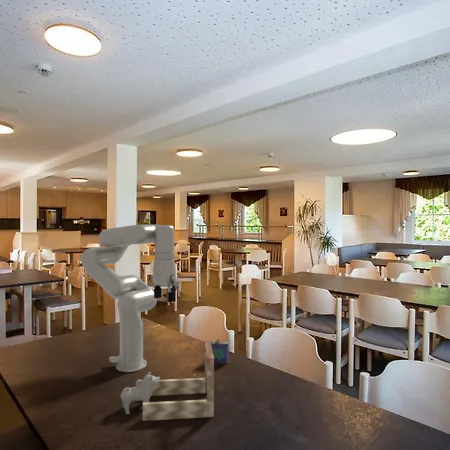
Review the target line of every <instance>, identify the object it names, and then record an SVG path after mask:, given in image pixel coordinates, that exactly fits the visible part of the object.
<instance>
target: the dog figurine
mask: <svg viewBox="0 0 450 450" xmlns="http://www.w3.org/2000/svg"><path fill="white" fill-rule="evenodd" d="M160 380H161V378H160V376H154V375H152V372H151V371H149V372H147V374H146V375H145V376H144V377H143V379H137V380H136V381H135V385H136V386H133V387H129V386H127V387H125V388H123V389H122V391H121V393H120V399H121V402H122V407H123V409H124V410H125V415H129V414H131V412H130V404H131V403H133V402H136V401H137V402H138V401H141V402H142V404H143V403H146V402H150V398H151V397H153V396H152V393H153V387H154V386H157V385H158V384H159V382H160Z"/></svg>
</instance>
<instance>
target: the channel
mask: <svg viewBox="0 0 450 450" xmlns="http://www.w3.org/2000/svg"><path fill="white" fill-rule="evenodd" d="M214 386H215V364H214V356H213V351H212V346H211V340H208V339H207V340H204V377H195V378H193V377H192V378H191V377H190V378H172V379H171V378H169V379H160V382H159V384H158V385H157V386H154V387H153V393H152V396H151V397H153V396H155V397H156V396H158V397H159V396H171V395H172V396H173V395H175V396H176V395H177V396H178V395H195V394H196V393H197V394H196V395H198V393H200V394H206V399H191V400H190V399H189V400H188V399H187V400H173V401H172V400H171V401H169V400H168V401H167V400H166V401H149V402H146V403H143V402H142V421H144V422H145V421H161V420H162V421H163V420H179V419H181V420H182V419H197V418H213V417H215V415H214V412H215V410H214V409H215V408H214V406H215V405H214V404H215V403H214V402H215V401H214V400H215V399H214V398H215V397H214V396H215V395H214V394H215V393H214V392H215V390H214V389H215V388H214Z"/></svg>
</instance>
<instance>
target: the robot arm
mask: <svg viewBox="0 0 450 450" xmlns="http://www.w3.org/2000/svg"><path fill="white" fill-rule="evenodd" d="M98 242H99V243H100V244H101V245H102V246H95V247H91V248H90V247H89V248H87V249H86V250H84V251H83V252H82V255H81V264H82V267H83V269H84V271H85V273H86V274H87V275H88V276H89V277H90V278H91V279H93V280H94V281H95V282H96V283H97V284H98V285H99V286H100V287H101V288H102V289H103V290H104V292H106V293H107V294H108V296H109V297H111V298H112V299H115V300H117V305H116V306H117V310H118V316H119V318H118V319H119V355H117V356H109V357H108V358H109V359H108V360H109V362H110V363H111V364H115V369H116V370H117V371H119V372H122V373H123V372H124V373H133V372H139V371H141V370H143V369H145V368H146V366H147V363H148V362H147V360H146V359H144V322H143V320H142V318H141V316H140V313H143V312H148V311H149V310H152V309H153V308H155V307H156V305H157V301H158V299H160V298H162V295H163V294H162V293H163V290H162V287H163V288H167V290H168V291H167V303H169V304H170V303H175V302H176V294H177V293H176V292H177V289H178V288H179V283H180V281H179V280H178V279H177V278H176V276H177V275H176V274H177V273H176V265H175V264H176V262H175V227H174V226H173V225H171V224H169V225H168V224H167V225H166V224H164V225H163V224H162V225H161V224H132V225H125V226H118V227H111V228H110V227H109V228H106V229H103V230H102V231H101V232H100V233H99V235H98ZM140 244H141V245H143V244H154V260H153V261H154V262H153V268H152V275H151V280H152V281H151V282H152V284H153V286H152V287H153V289H152V288H151V287H150V286H149V285H148V284H147V283H146V282H144V280H143V279H141V277H139V276H137V275H134V274H126V275H119V274H118V273H116V272H115V270H114V269H113V268H111V267H109V266H106V265H113V264H116V263H118V262H119V261H121V258H122V257H123V255H124V254H125V252H126V250H128V248H129V246H131V245H140Z"/></svg>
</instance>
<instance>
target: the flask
mask: <svg viewBox="0 0 450 450" xmlns="http://www.w3.org/2000/svg"><path fill="white" fill-rule="evenodd" d="M211 346H212V351H213V356H214V365H228V364H229V362H230V360H229V357H230V356H229V355H230V354H229V352H230V351H229V350H230V349H229V348H230V343H229V342H228V341H221V339H220V338H216V340H214V341H213V340H212V341H211Z"/></svg>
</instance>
